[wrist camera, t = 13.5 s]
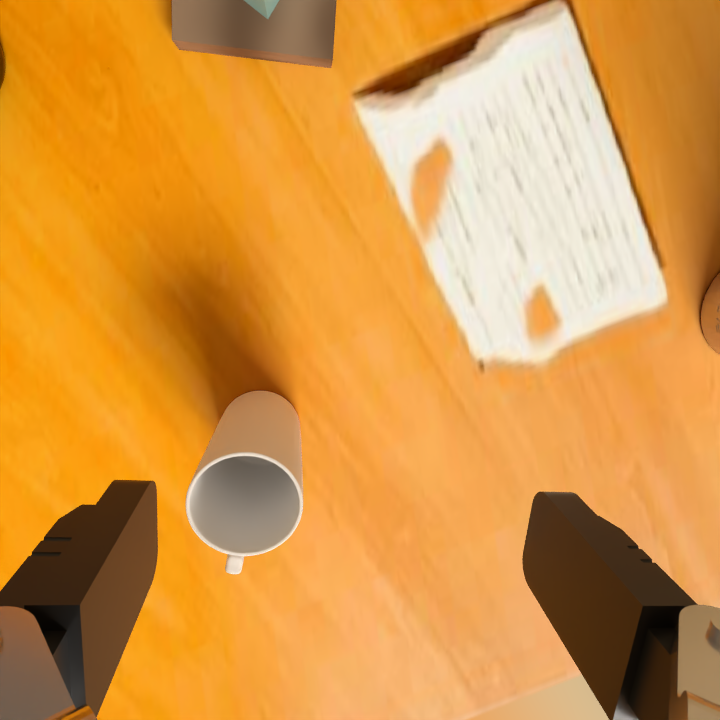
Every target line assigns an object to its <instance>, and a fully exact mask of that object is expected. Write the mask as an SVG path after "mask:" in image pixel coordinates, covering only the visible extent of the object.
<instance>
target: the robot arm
mask: <svg viewBox="0 0 720 720" xmlns="http://www.w3.org/2000/svg"><path fill="white" fill-rule="evenodd" d="M701 326H702V330H703V333H704V337H705V338H706V340H707V342H708V344H709V345H710V346H711V347H712V348H713V349H714V351H715V352H717V353H718V354H720V273H719V274H718V275H717V276H716V278H715V279H714V280H713V282H712V283H711V285H710V287H709V289H708V290H707V292H706V295H705V298H704V301H703V305H702V311H701ZM157 553H158V538H157V490H156V484H155V482H154V481H137V480H114V481H113V482H112V483H111V484H110V486H109V487H108V489H107V490H106V491H105V493H104V494H103V495H102V497H101V498H100V500H99V501H98V502H97V504H96V505H81V506H79V507H77V508H76V509H74V510H73V511H71V512H69V513H68V514H66V515H65V516H63V517H61V518H60V519H58V521H57V522H56V523H55V524H54V525H53V527H52V528H51V529H50V530H49V532H48V533H47V534H46V535H45V537H44V540H43V541H41V542H40V543H39V544H38V545H37V547H36V548H35V549H34V550H33V552H32V555H31V556H29V557H28V558H27V559H26V560H25V561H24V563H23V564H22V565H21V566H20V568H19V569H18V570H17V571H16V573H15V574H14V575H13V576H12V578H11V579H10V580H9V581H8V583H7V584H6V585H5V586H4V588H3V589H2V590H1V591H0V720H97V718H96V717H97V715H98V712H99V710H100V707H101V705H102V702H103V700H104V698H105V695H106V693H107V690H108V688H109V685H110V683H111V681H112V678H113V676H114V673H115V671H116V669H117V666H118V664H119V661H120V659H121V656H122V654H123V652H124V649H125V647H126V644H127V642H128V639H129V637H130V635H131V632H132V630H133V627H134V625H135V622H136V620H137V618H138V615H139V613H140V610H141V608H142V606H143V603H144V601H145V598H146V596H147V593H148V591H149V589H150V586H151V584H152V581H153V578H154V574H155V569H156V563H157ZM523 571H524V576H525V579H526V582H527V584H528V586H529V588H530V589H531V591H532V593H533V594H534V596H535V598H536V599H537V601H538V602H539V604H540V606H541V607H542V609H543V611H544V612H545V614H546V616H547V617H548V619H549V621H550V622H551V624H552V626H553V627H554V629H555V631H556V632H557V634H558V635H559V637H560V639H561V640H562V642H563V644H564V645H565V647H566V649H567V650H568V652H569V654H570V655H571V657H572V659H573V660H574V662H575V664H576V665H577V667H578V668H579V670H580V672H581V673H582V675H583V677H584V678H585V680H586V682H587V683H588V685H589V687H590V688H591V690H592V691H593V693H594V695H595V697H596V698H597V700H598V701H599V703H600V705H601V706H602V708H603V710H604V711H605V713H606V714H607V716H608V718H609V719H610V720H720V608H716V607H712V606H706V605H698V604H697V603H695V602H694V601H693V600H692V599H691V598H690V597H689V596H688V595H687V594H686V593H685V592H684V591H683V590H682V589H681V588H680V587H679V586H678V585H677V584H676V583H675V582H674V581H673V580H672V579H671V578H670V577H669V576H668V575H667V574H666V573H665V572H664V571H663V570H662V569H661V568H660V567H659V566H658V565H657V564H656V563H652V559H651V558H650V557H649V556H648V555H647V554H646V553H645V552H644V551H643V550H642V549H639V548H638V545H637V544H636V543H635V542H634V541H633V540H632V539H631V538H630V537H629V536H628V535H627V534H626V533H625V532H624V531H623V530H621V529H620V528H618V527H617V526H615V525H613V524H612V523H610V522H608V521H607V520H605V519H603V518H602V517H600V516H597V515H596V514H595V513H594V512H593V511H592V510H591V509H590V508H589V507H588V506H587V505H586V504H585V503H584V502H583V500H582V499H581V498H580V497H579V496H578V495H576V494H575V493H571V492H538V493H537V494H536V495H535V497H534V500H533V503H532V508H531V514H530V519H529V524H528V530H527V535H526V540H525V546H524V551H523Z"/></svg>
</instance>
